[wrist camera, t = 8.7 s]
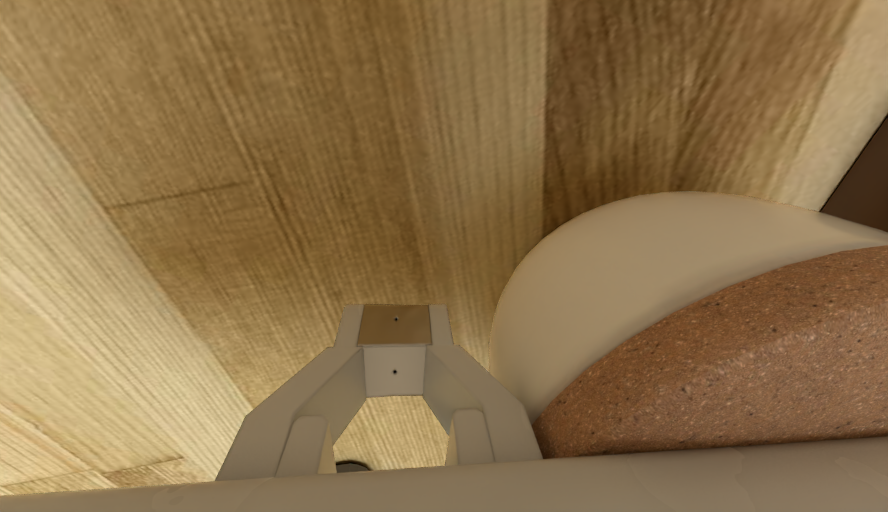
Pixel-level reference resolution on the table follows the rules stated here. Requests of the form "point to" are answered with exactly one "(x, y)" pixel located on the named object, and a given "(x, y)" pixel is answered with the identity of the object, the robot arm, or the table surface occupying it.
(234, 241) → the table surface
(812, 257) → the trinket box
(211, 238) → the table surface
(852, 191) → the rail
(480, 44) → the table surface
